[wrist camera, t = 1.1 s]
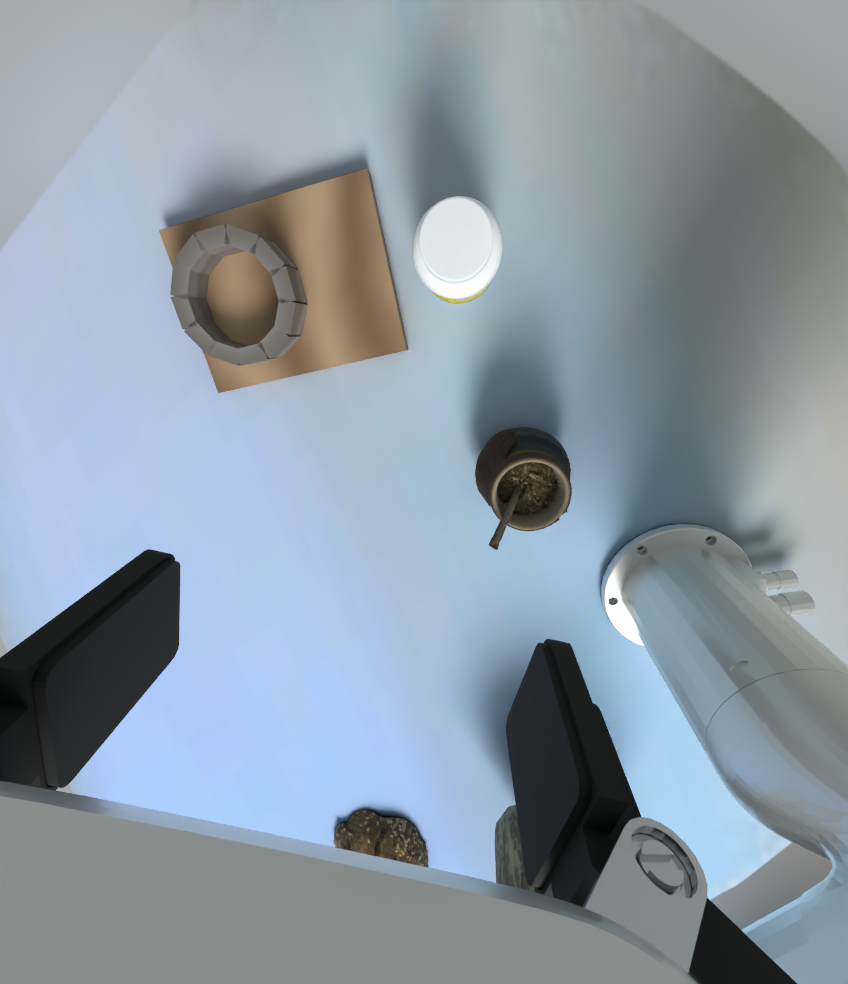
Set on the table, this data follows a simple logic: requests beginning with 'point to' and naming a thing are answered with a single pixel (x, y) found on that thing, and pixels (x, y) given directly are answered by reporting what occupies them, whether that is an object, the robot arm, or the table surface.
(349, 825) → the bread roll
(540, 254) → the table surface
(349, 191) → the collar board
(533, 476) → the mate gourd
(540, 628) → the table surface
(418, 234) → the supplement bottle
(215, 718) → the table surface
